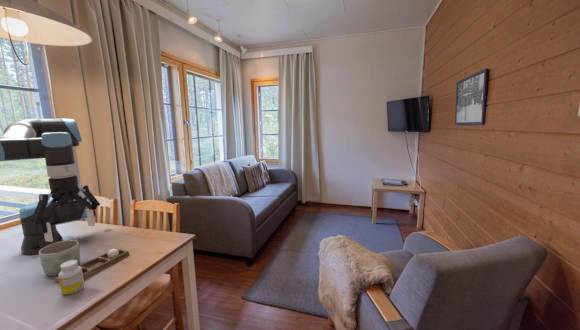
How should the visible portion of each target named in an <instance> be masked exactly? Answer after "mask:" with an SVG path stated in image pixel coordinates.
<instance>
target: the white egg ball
mask: <svg viewBox="0 0 580 330" xmlns="http://www.w3.org/2000/svg"><path fill="white" fill-rule="evenodd" d="M117 249H118V248H117ZM117 249H115V248H111V249H109V251H107V252H108V253H107V252H106V253H107V256H108V258H110V259H113V258H115V257H117V256H118V255H119V251H118V250H117Z"/></svg>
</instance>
